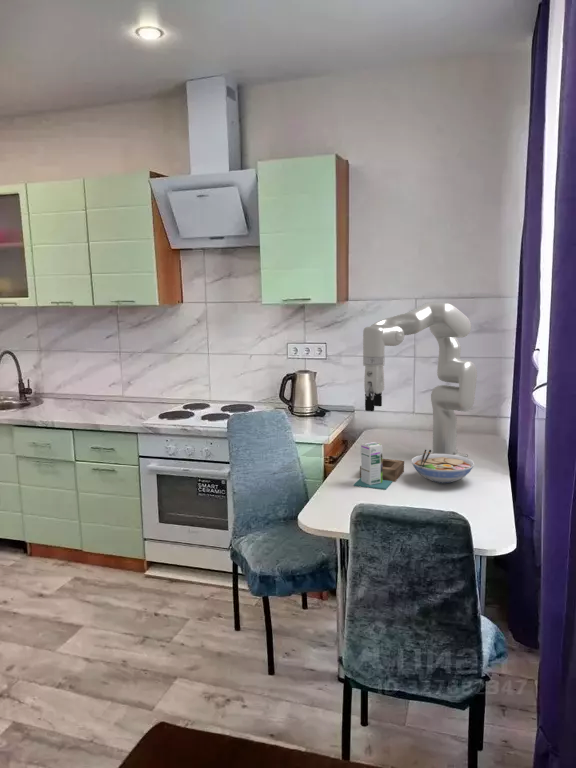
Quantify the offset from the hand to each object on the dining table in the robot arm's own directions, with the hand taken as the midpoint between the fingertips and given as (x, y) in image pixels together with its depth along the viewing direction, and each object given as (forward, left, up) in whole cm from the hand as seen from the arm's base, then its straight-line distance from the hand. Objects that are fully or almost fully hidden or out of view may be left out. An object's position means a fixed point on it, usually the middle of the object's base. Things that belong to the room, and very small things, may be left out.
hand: (373, 408), depth 216 cm
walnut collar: (0, -12, -28) cm, 31 cm away
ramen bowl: (-22, -13, -28) cm, 39 cm away
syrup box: (+1, 0, -28) cm, 28 cm away
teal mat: (0, 0, -28) cm, 28 cm away
